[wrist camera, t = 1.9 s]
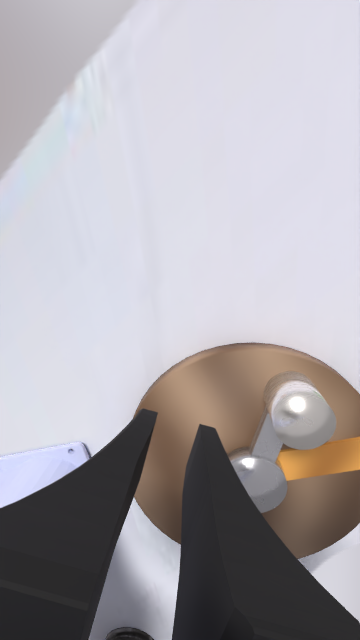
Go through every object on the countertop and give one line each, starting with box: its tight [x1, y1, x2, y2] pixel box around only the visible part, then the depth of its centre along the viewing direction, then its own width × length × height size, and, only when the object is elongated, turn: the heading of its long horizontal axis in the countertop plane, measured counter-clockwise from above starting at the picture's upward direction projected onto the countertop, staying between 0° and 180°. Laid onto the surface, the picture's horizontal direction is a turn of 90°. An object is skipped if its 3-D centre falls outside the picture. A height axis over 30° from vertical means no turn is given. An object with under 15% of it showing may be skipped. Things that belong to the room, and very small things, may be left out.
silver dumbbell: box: [227, 371, 336, 513], centre depth 18 cm, size 11×4×4 cm, turn 166°
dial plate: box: [132, 343, 360, 559], centre depth 22 cm, size 18×18×2 cm
